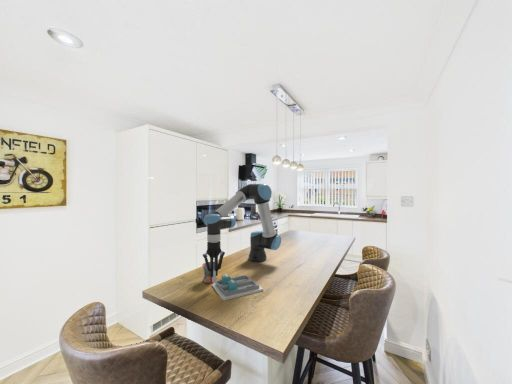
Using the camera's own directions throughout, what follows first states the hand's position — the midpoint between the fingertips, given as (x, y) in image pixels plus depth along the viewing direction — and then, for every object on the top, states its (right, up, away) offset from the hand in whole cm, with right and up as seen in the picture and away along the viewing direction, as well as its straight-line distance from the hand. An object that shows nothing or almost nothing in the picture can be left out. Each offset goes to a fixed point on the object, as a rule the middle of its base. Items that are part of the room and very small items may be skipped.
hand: (213, 281), depth 123 cm
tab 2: (+11, -3, -4) cm, 12 cm away
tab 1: (+7, -3, +4) cm, 8 cm away
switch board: (+13, -4, +2) cm, 14 cm away
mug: (-4, -5, +13) cm, 15 cm away
